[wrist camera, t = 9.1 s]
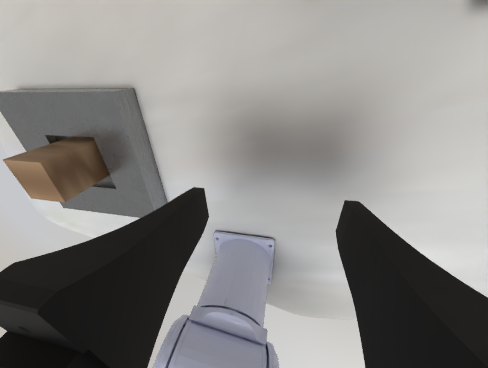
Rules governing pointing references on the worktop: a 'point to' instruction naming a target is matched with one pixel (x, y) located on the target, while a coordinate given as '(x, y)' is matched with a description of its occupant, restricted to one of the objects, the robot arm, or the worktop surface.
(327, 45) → the worktop surface
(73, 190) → the block
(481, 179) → the worktop surface
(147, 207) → the socket plate
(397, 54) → the worktop surface
